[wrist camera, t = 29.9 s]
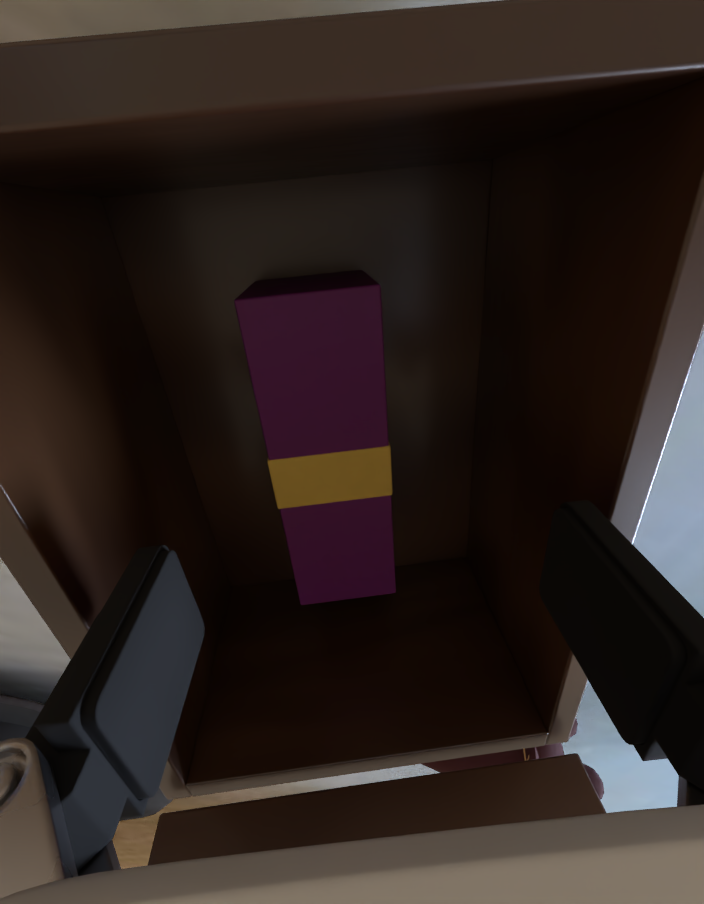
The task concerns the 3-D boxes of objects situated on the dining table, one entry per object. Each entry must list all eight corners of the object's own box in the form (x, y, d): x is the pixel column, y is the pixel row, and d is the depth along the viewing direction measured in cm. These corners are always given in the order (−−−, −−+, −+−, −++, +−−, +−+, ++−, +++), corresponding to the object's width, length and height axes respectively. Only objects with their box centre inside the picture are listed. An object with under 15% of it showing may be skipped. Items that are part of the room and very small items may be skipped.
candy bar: (364, 269, 15) (383, 283, 11) (381, 523, 21) (397, 594, 17) (253, 281, 15) (230, 299, 11) (301, 533, 21) (299, 607, 17)
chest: (75, 170, 14) (-341, 67, 5) (509, 129, 14) (825, -31, 5) (221, 587, 23) (167, 801, 15) (475, 555, 24) (568, 743, 15)
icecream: (396, 833, 26) (573, 817, 31) (455, 820, 22) (654, 804, 26) (382, 710, 31) (536, 712, 36) (427, 678, 27) (598, 684, 31)
